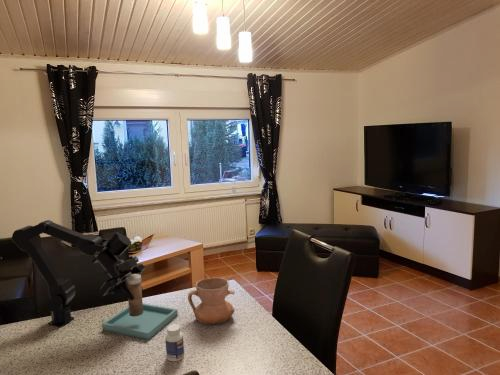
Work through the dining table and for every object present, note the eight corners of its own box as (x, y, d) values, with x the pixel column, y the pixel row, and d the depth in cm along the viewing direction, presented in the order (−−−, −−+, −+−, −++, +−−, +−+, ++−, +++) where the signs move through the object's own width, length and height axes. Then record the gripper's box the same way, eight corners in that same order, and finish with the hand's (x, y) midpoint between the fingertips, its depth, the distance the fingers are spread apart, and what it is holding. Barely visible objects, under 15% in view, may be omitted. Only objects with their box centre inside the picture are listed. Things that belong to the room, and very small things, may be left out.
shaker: (126, 315, 129) (123, 278, 127) (135, 309, 133) (132, 273, 132) (137, 317, 127) (134, 279, 125) (146, 311, 132) (143, 274, 130)
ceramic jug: (239, 310, 140) (237, 275, 138) (232, 329, 126) (230, 290, 124) (195, 309, 143) (193, 275, 141) (183, 328, 129) (180, 290, 127)
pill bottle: (180, 362, 108) (178, 332, 107) (163, 361, 109) (161, 331, 108) (186, 352, 113) (185, 323, 112) (171, 350, 115) (169, 322, 113)
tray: (102, 330, 128) (101, 323, 128) (135, 307, 145) (135, 302, 145) (148, 340, 121) (148, 333, 121) (177, 315, 138) (177, 309, 137)
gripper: (103, 258, 120) (132, 294, 117) (139, 243, 137) (165, 273, 135) (87, 278, 124) (115, 313, 121) (124, 260, 141) (149, 291, 139)
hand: (138, 296), depth 129 cm, fingers closed on shaker, 5 cm apart
